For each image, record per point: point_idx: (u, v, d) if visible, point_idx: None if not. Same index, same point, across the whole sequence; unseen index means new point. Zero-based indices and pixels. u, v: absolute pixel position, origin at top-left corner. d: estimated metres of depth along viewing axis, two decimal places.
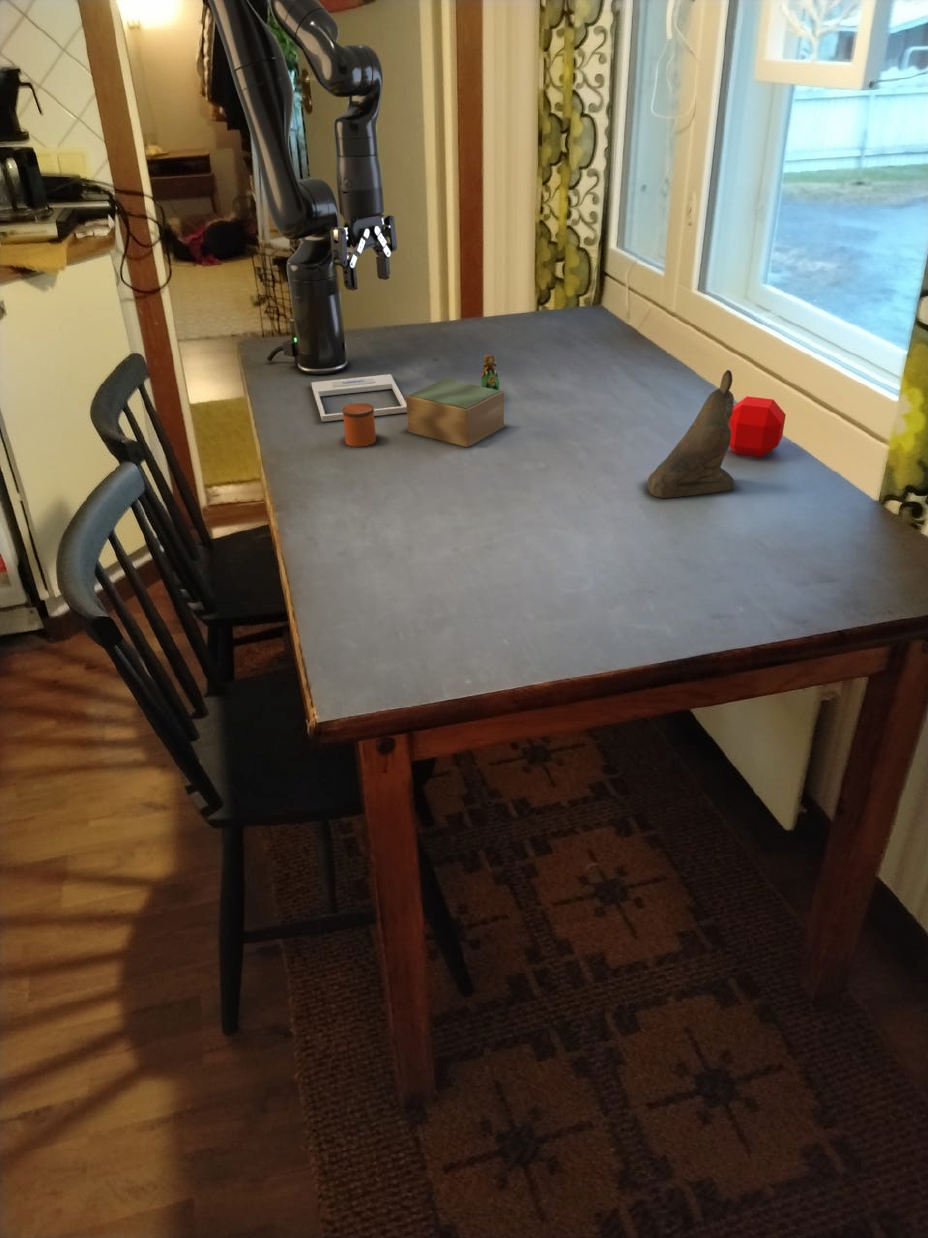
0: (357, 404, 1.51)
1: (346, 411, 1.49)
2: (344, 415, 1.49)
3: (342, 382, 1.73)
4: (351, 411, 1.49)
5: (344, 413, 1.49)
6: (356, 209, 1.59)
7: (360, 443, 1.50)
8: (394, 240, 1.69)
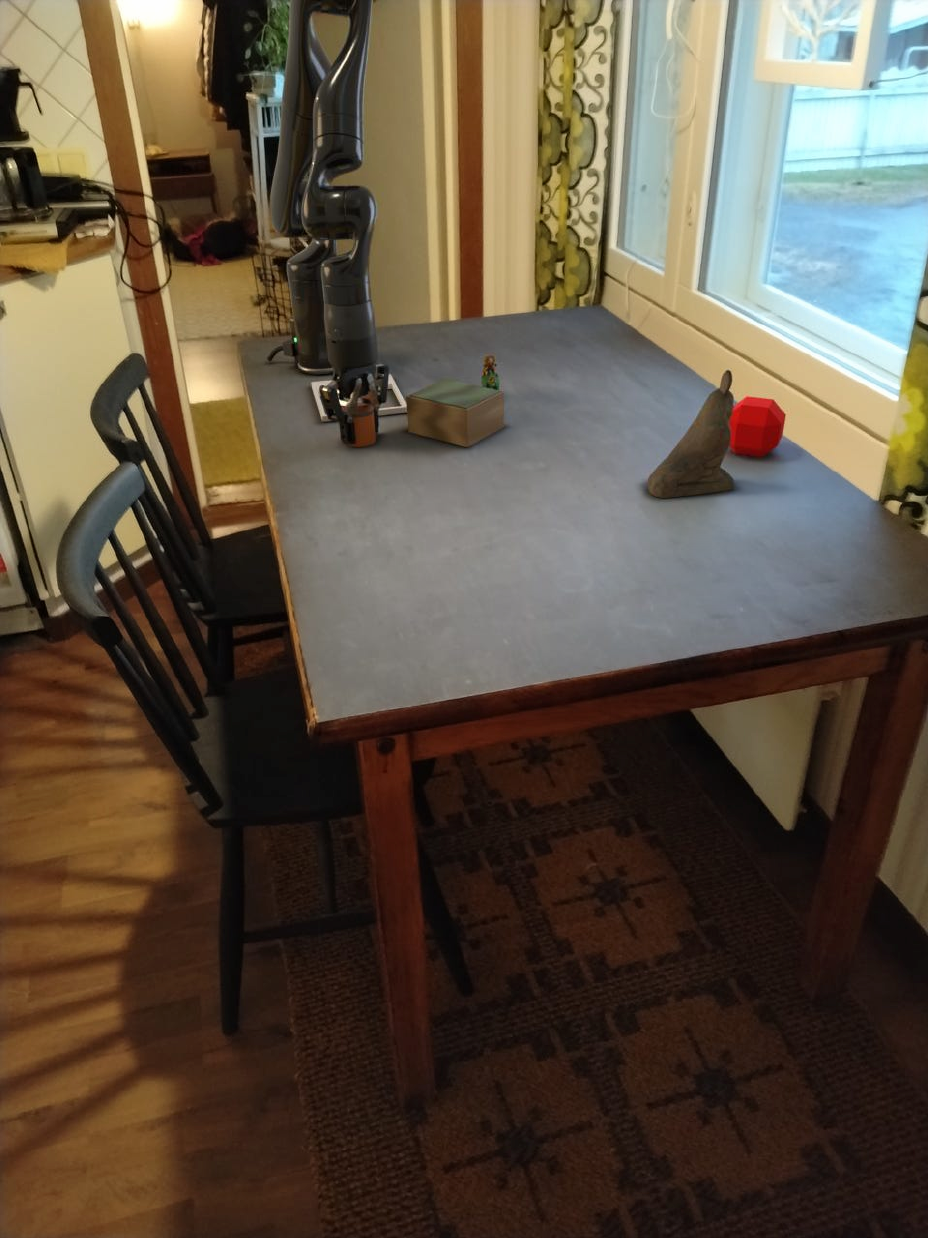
0: (357, 404, 1.51)
1: None
2: None
3: None
4: None
5: (344, 413, 1.49)
6: (346, 360, 1.42)
7: (360, 443, 1.50)
8: (385, 392, 1.52)
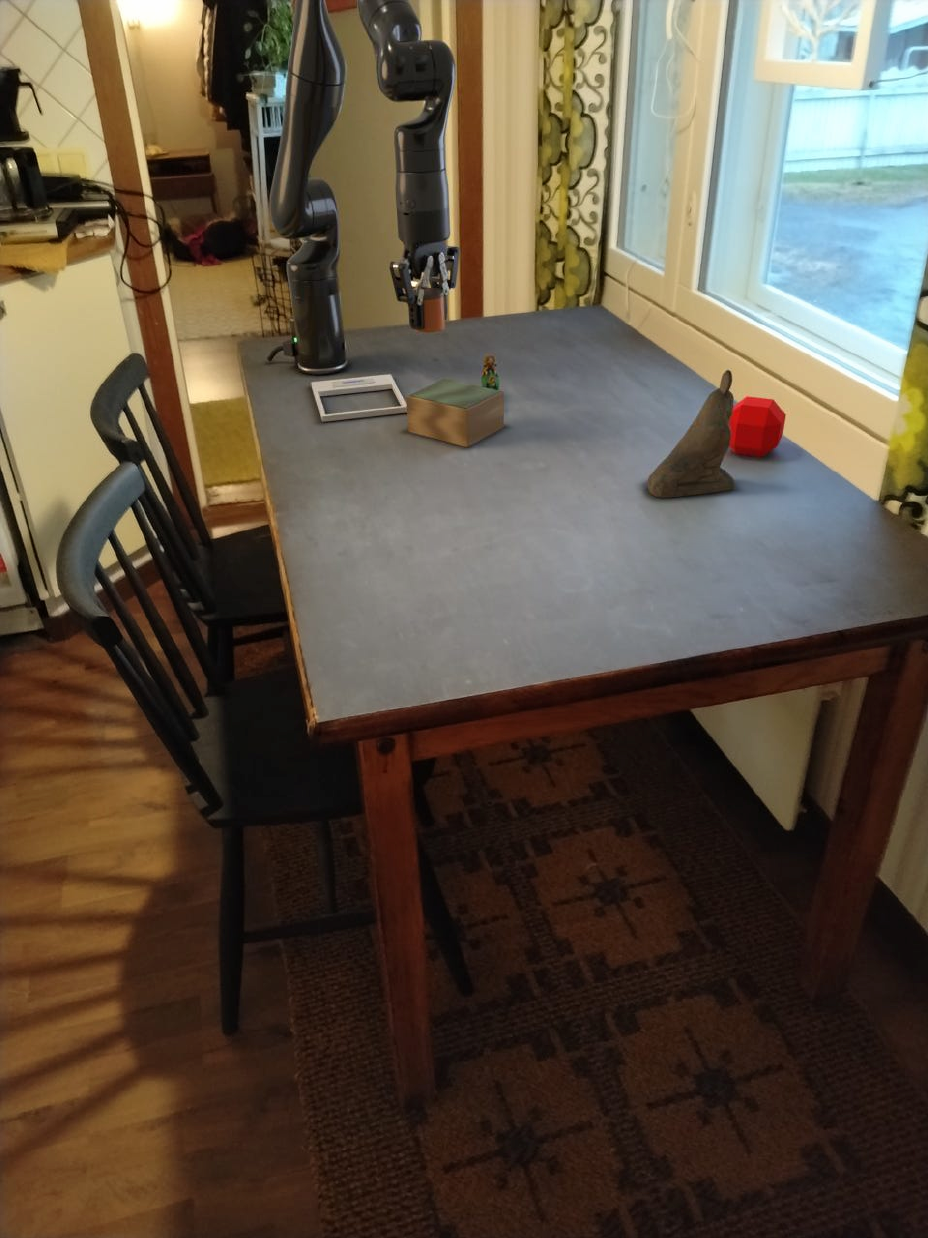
0: (426, 288, 1.44)
1: (415, 293, 1.42)
2: None
3: (342, 382, 1.73)
4: None
5: None
6: (419, 234, 1.35)
7: (429, 328, 1.43)
8: (455, 276, 1.45)
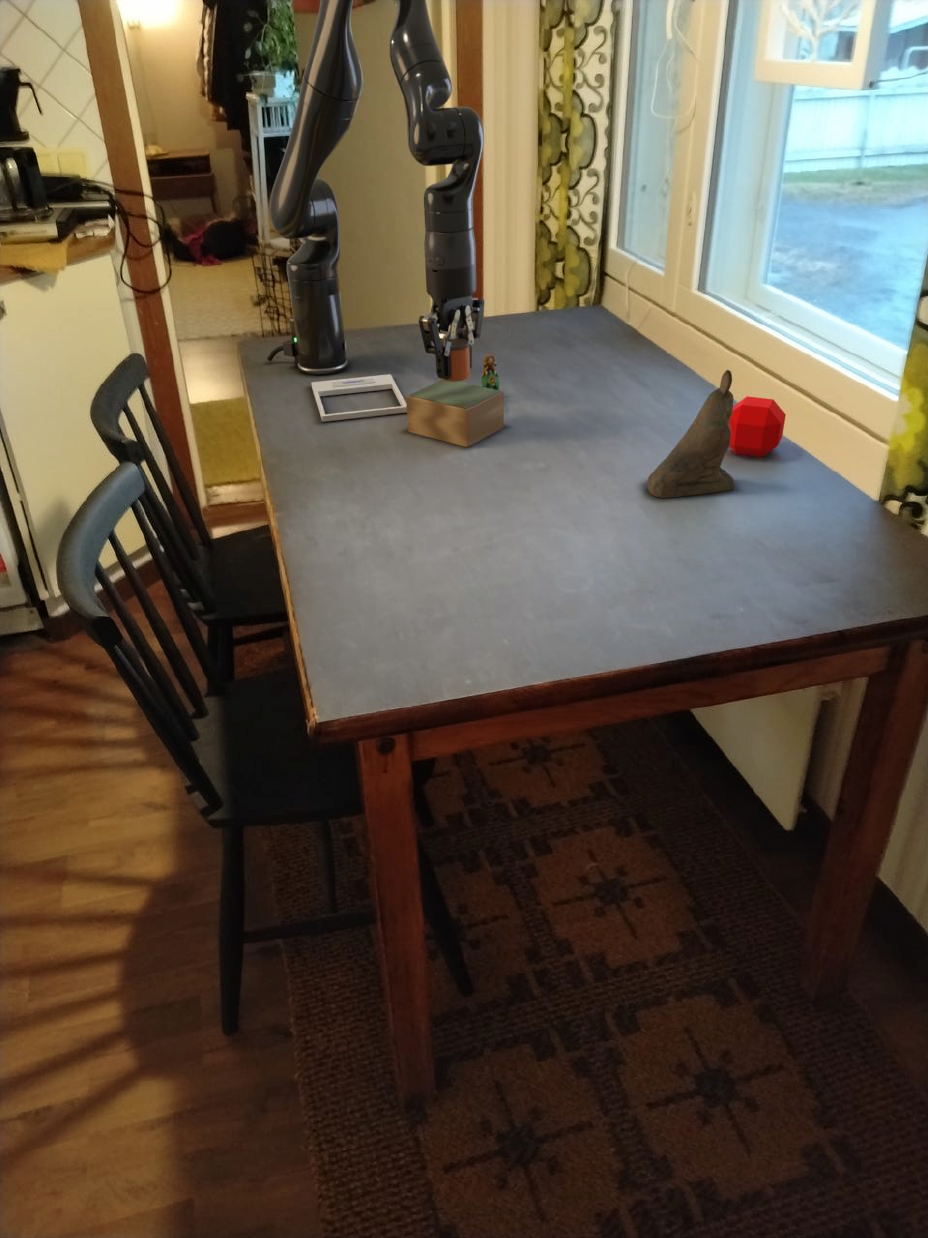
0: None
1: (442, 345, 1.47)
2: None
3: (342, 382, 1.73)
4: None
5: None
6: (447, 289, 1.40)
7: (456, 378, 1.49)
8: (479, 326, 1.50)
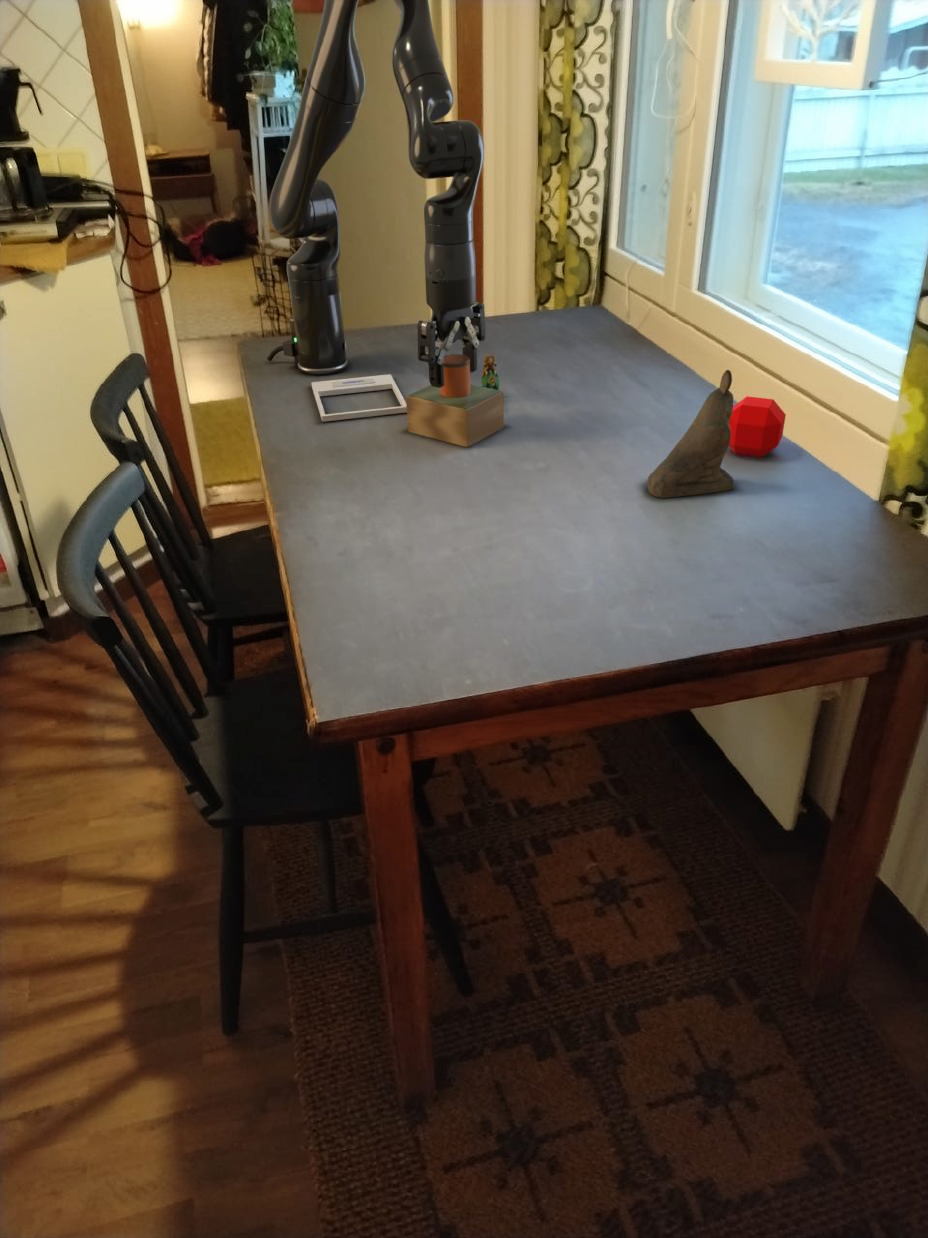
0: (452, 355, 1.51)
1: (443, 361, 1.48)
2: None
3: (342, 382, 1.73)
4: (448, 361, 1.48)
5: None
6: (447, 301, 1.41)
7: (456, 394, 1.50)
8: (483, 329, 1.51)
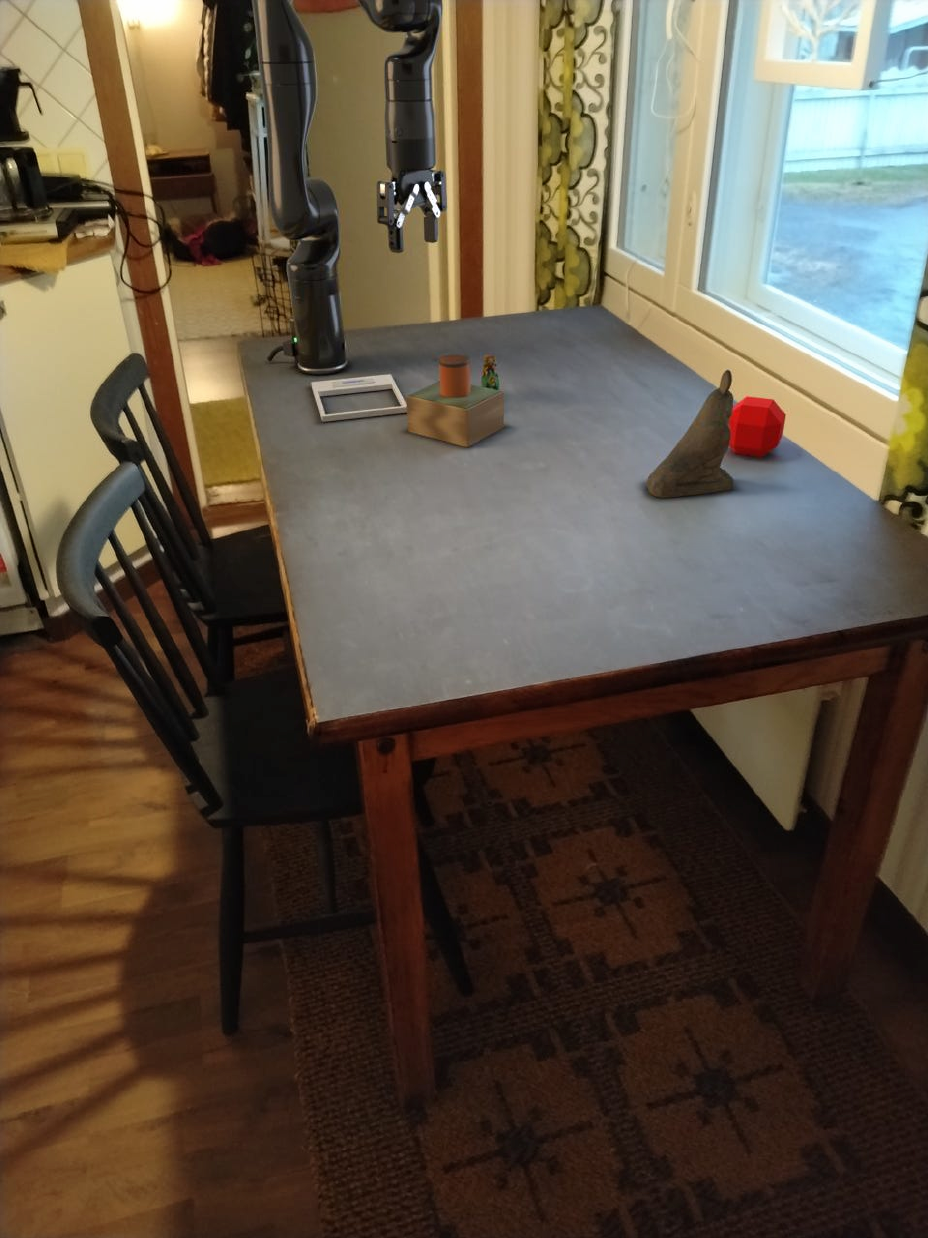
0: (452, 355, 1.51)
1: (443, 361, 1.48)
2: (441, 365, 1.49)
3: (342, 382, 1.73)
4: (448, 361, 1.48)
5: (441, 363, 1.48)
6: (406, 161, 1.42)
7: (456, 394, 1.50)
8: (444, 199, 1.53)
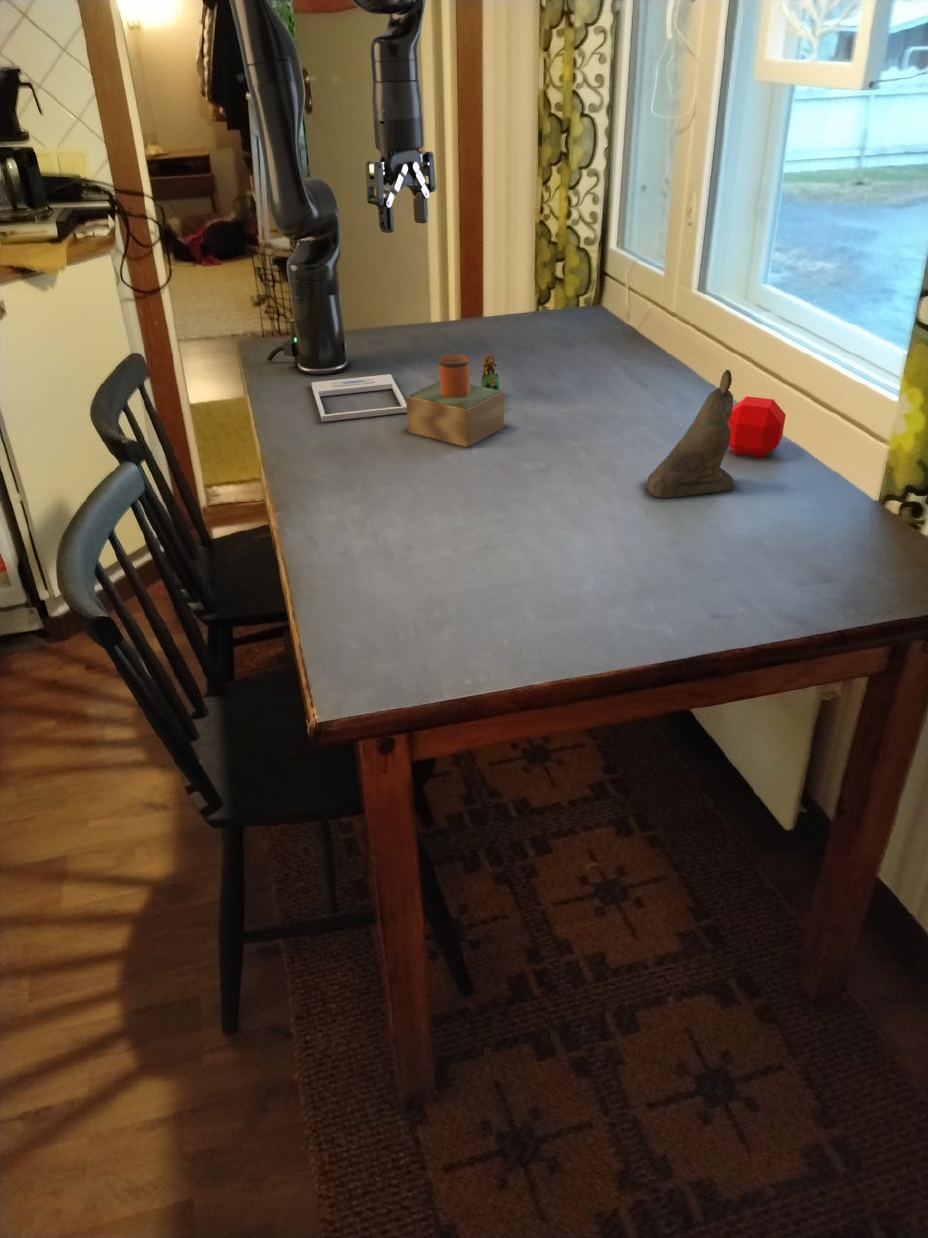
0: (452, 355, 1.51)
1: (443, 361, 1.48)
2: (441, 365, 1.49)
3: (342, 382, 1.73)
4: (448, 361, 1.48)
5: (441, 363, 1.48)
6: (394, 141, 1.45)
7: (456, 394, 1.50)
8: (433, 179, 1.55)
